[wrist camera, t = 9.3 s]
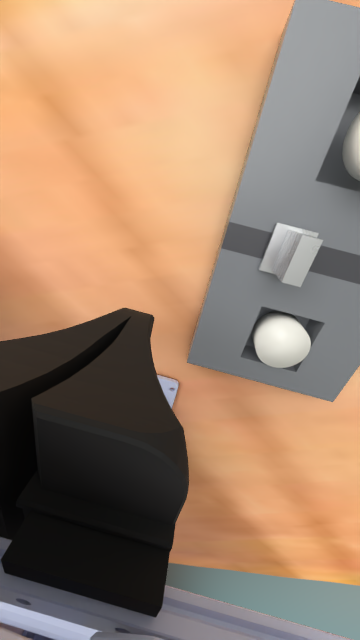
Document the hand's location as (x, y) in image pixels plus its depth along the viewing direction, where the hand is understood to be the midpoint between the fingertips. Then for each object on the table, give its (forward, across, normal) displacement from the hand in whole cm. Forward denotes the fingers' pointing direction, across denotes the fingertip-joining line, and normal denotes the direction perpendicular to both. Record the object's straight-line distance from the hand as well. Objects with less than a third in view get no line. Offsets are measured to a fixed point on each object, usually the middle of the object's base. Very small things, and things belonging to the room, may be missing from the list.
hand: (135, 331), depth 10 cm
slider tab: (+7, -7, -4) cm, 10 cm away
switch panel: (+9, -9, -4) cm, 14 cm away
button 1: (+8, -9, +2) cm, 12 cm away
